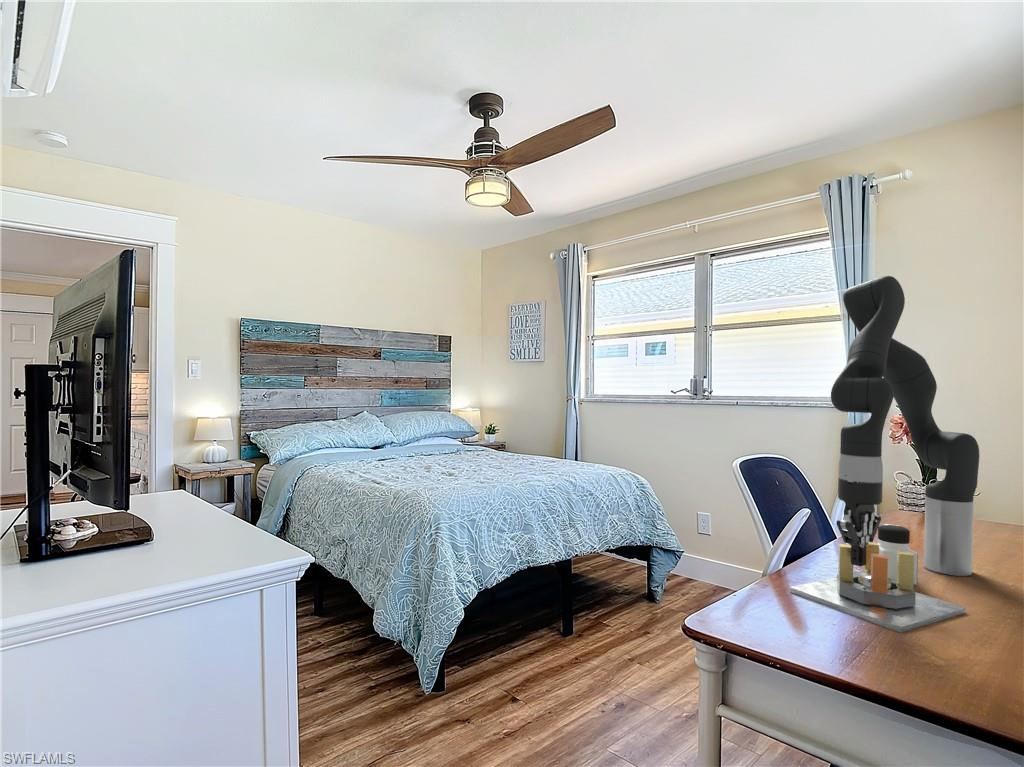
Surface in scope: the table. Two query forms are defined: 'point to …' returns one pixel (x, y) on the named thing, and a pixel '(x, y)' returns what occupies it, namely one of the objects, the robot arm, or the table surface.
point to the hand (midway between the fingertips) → (858, 564)
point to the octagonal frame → (877, 578)
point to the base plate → (891, 618)
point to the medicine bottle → (895, 547)
